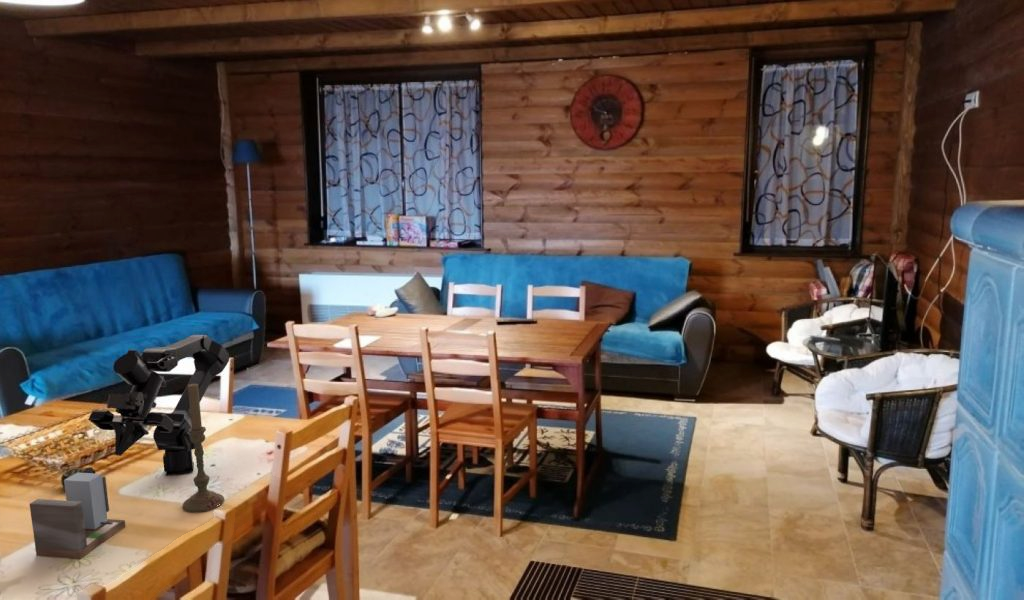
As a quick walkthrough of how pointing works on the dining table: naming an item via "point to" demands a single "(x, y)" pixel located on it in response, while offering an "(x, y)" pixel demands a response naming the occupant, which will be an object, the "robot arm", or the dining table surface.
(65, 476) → the tape measure
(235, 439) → the dining table surface
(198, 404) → the candlestick holder
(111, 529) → the base
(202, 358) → the robot arm
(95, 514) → the block
